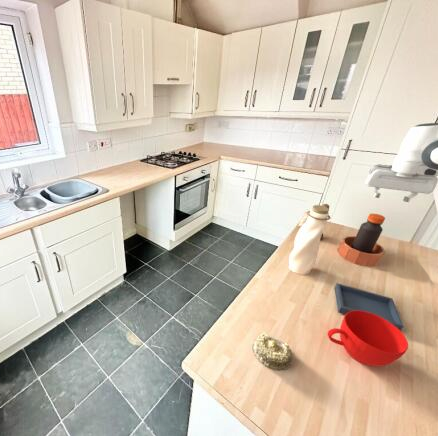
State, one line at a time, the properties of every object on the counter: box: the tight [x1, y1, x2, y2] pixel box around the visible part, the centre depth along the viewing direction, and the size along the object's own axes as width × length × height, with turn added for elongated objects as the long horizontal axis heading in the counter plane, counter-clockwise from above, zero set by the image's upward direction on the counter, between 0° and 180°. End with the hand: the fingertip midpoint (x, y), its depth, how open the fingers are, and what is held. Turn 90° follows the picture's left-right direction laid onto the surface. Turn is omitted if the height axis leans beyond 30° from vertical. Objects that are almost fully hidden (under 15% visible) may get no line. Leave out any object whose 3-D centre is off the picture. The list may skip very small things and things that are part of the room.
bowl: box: [337, 235, 386, 267], centre depth 105 cm, size 14×14×6 cm
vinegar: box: [351, 213, 386, 254], centre depth 102 cm, size 7×7×20 cm
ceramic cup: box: [327, 310, 409, 367], centre depth 66 cm, size 13×17×10 cm
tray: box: [334, 282, 405, 332], centre depth 81 cm, size 16×13×3 cm
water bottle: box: [288, 204, 331, 276], centre depth 94 cm, size 10×9×28 cm
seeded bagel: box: [252, 332, 292, 371], centre depth 68 cm, size 10×10×5 cm
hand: (390, 199), depth 101 cm, fingers open, 8 cm apart
